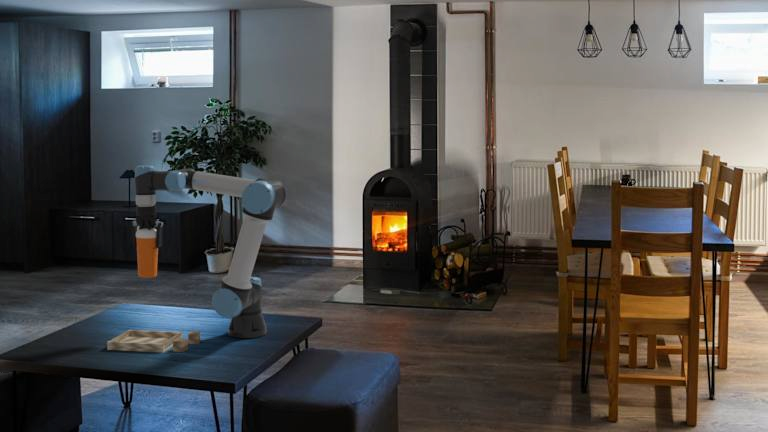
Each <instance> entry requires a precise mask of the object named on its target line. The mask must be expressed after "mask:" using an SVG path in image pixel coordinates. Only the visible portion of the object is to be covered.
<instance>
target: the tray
mask: <svg viewBox="0 0 768 432" xmlns="http://www.w3.org/2000/svg"><path fill="white" fill-rule="evenodd" d="M178 338H182V339H183V332H182V331H165V330H164V331H160V330H141V329H139V330H138V329H128V330H126V331H124V332H122V333H121V334H119V335H117V336H115V337H112V339H110V340H108V341H106V346H107V348H106V349H107V350H108V351H128V352H147V353H148V352H149V353H165V352H166V351H168V350H170V349H172V348H173V340H176V339H178Z"/></svg>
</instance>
